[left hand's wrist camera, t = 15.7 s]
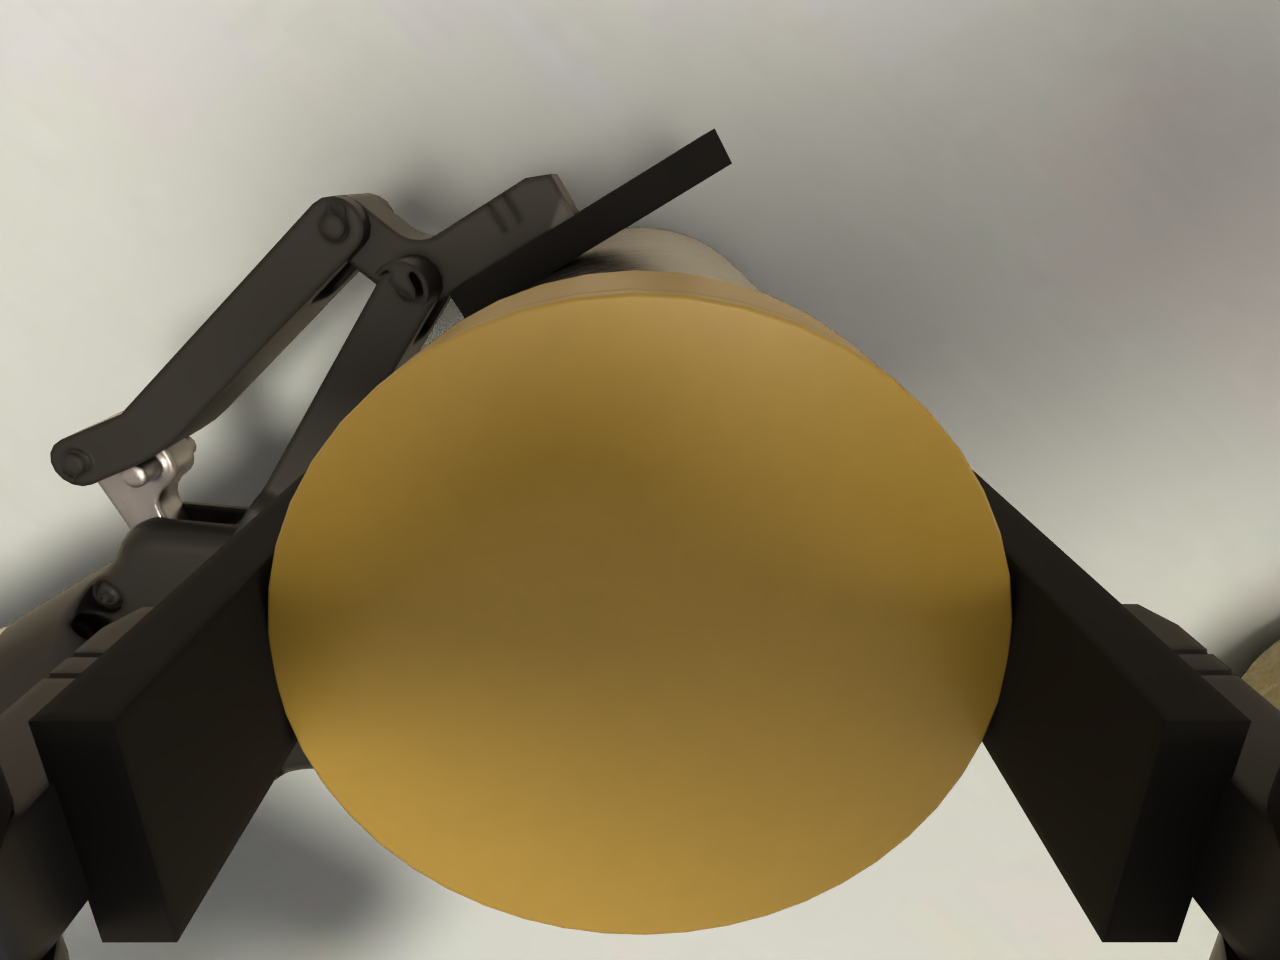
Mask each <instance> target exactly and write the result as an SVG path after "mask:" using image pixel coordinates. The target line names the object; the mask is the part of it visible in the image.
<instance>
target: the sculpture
mask: <svg viewBox="0 0 1280 960" xmlns="http://www.w3.org/2000/svg"><path fill="white" fill-rule="evenodd" d="M1241 679H1243V680H1244V681H1245V682H1246V683H1247V684H1248V685H1250V686H1251V687H1252V688H1253V689H1254V690H1256V691H1257V692H1258V693H1259V694H1260V695H1261V696H1263V697H1264V698H1265V699H1266V700H1267V701H1269V702H1270V703H1271V704H1272V705H1273V706H1275V707H1276V708H1277V709H1278V710H1279V711H1280V640H1279V641H1277V642H1276V643H1274V644H1273V645H1272V646H1270V647H1269V648H1268V649H1267V650H1266V651H1264V652H1263V653H1262V654H1261V655H1260V656H1259V657H1258V658H1257V659H1256V660H1255V661H1254V662H1253V663H1252V665H1251V666H1250V667H1249V669H1248V670H1247V671H1246V673H1245V674H1244V675H1243V676H1242V677H1241Z"/></svg>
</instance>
